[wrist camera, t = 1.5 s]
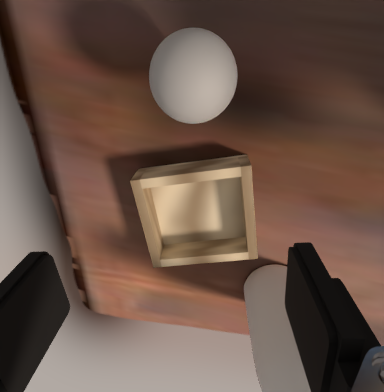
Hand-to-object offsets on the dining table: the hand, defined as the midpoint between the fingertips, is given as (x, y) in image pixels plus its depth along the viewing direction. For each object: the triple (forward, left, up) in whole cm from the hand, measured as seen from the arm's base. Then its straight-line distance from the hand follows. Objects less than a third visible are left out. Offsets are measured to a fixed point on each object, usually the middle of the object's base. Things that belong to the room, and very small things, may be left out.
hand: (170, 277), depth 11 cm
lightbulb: (-1, -7, -21) cm, 22 cm away
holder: (+1, +7, -21) cm, 22 cm away
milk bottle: (-7, +20, -21) cm, 30 cm away
